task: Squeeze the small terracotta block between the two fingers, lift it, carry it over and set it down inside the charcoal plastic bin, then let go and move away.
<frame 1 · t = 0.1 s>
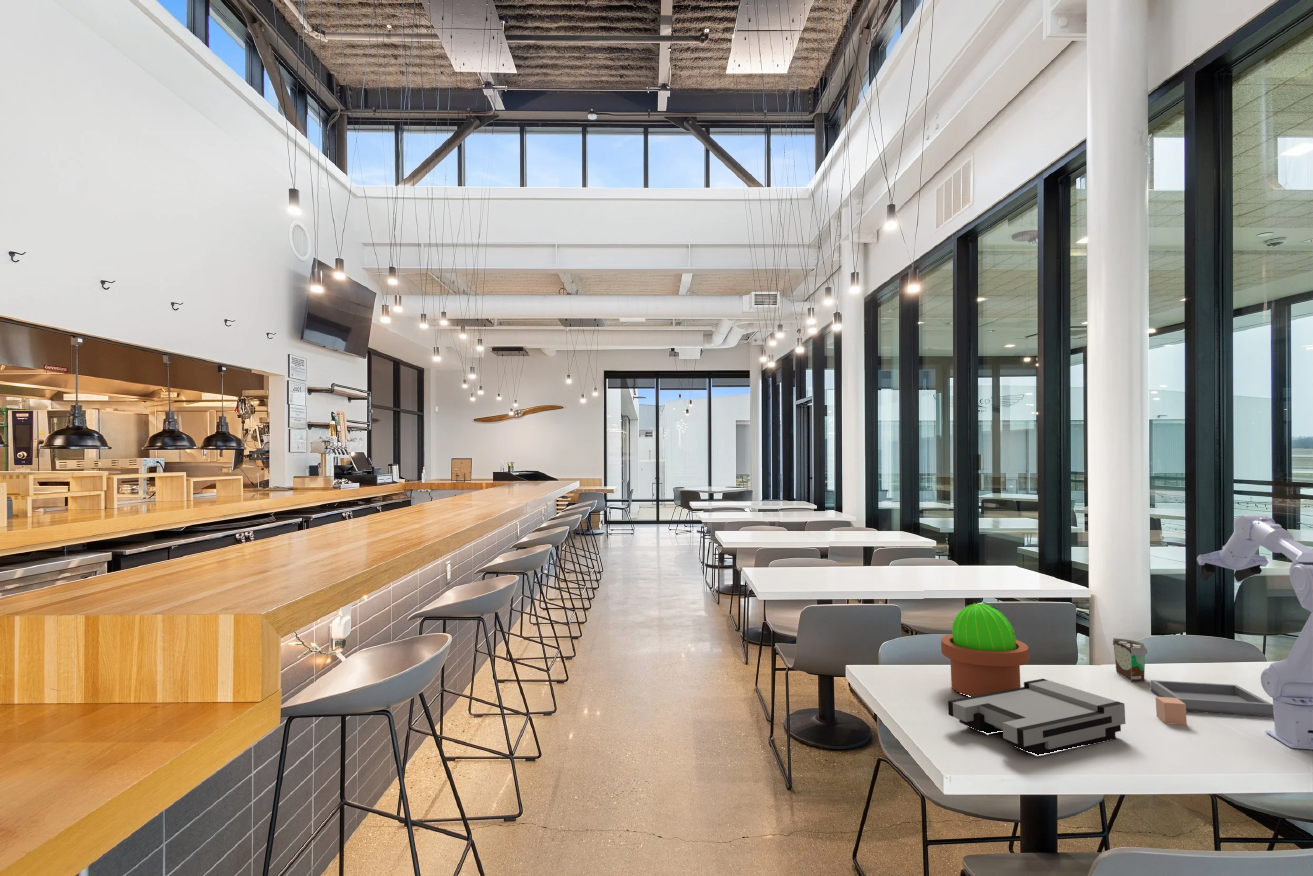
hand: (1219, 578, 180), 32 cm above the table, tool tilted 50°, fingers open, 7 cm apart
potted cactus: (985, 692, 188), on the table
food container: (1135, 678, 199), on the table
terracotta block: (1171, 721, 165), on the table
bin: (1208, 703, 176), on the table
gray blocky slab: (1035, 736, 158), on the table
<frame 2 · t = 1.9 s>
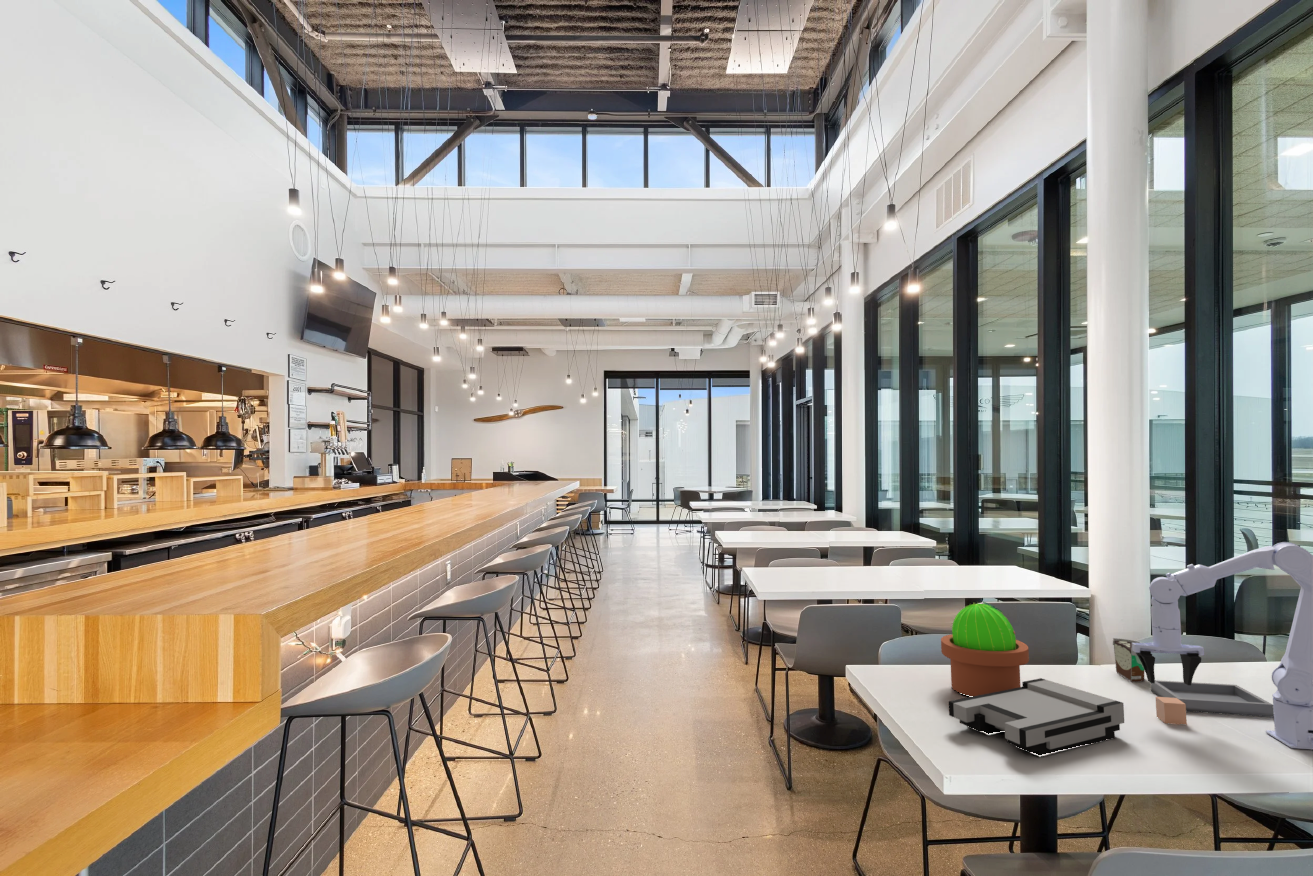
hand: (1169, 683, 165), 9 cm above the table, tool pointing down, fingers open, 7 cm apart
nothing on the table moved.
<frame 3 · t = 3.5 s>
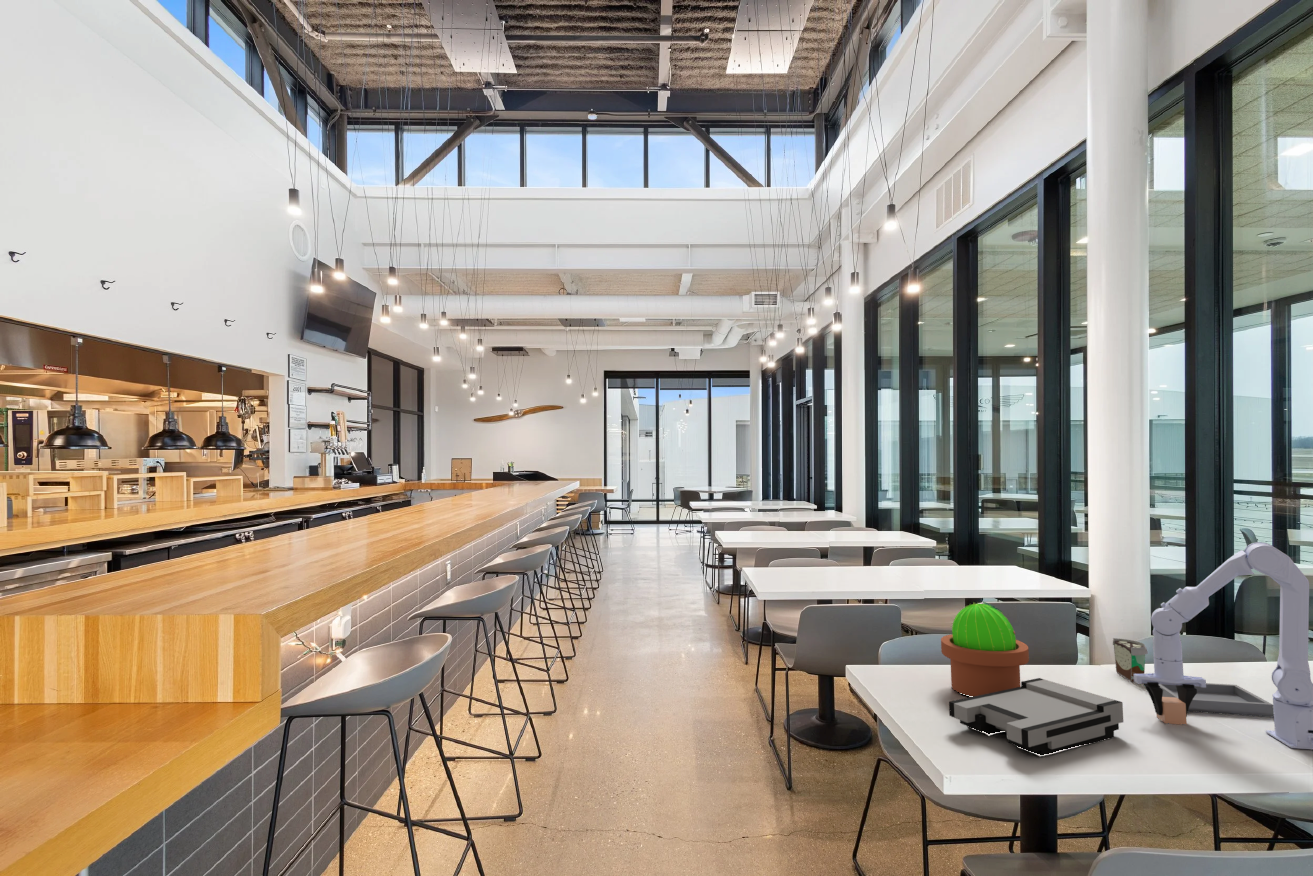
hand: (1171, 714, 165), 1 cm above the table, tool pointing down, fingers closed on terracotta block, 4 cm apart
terracotta block: (1171, 720, 165), on the table, touching gripper
everything else where it was.
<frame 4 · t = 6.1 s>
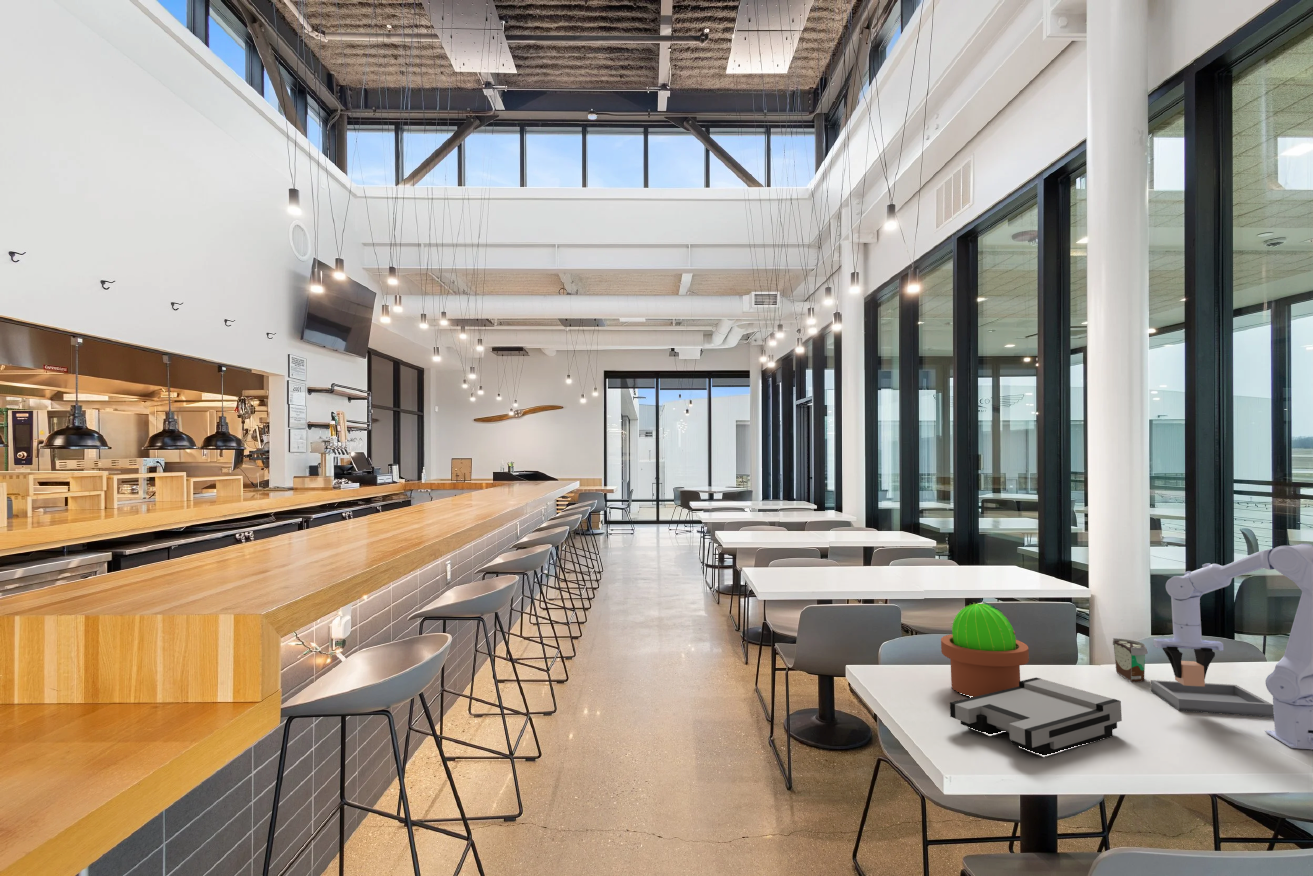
hand: (1189, 677, 171), 8 cm above the table, tool pointing down, fingers closed on terracotta block, 4 cm apart
terracotta block: (1189, 683, 171), point 7 cm above the table, touching gripper
everything else where it was.
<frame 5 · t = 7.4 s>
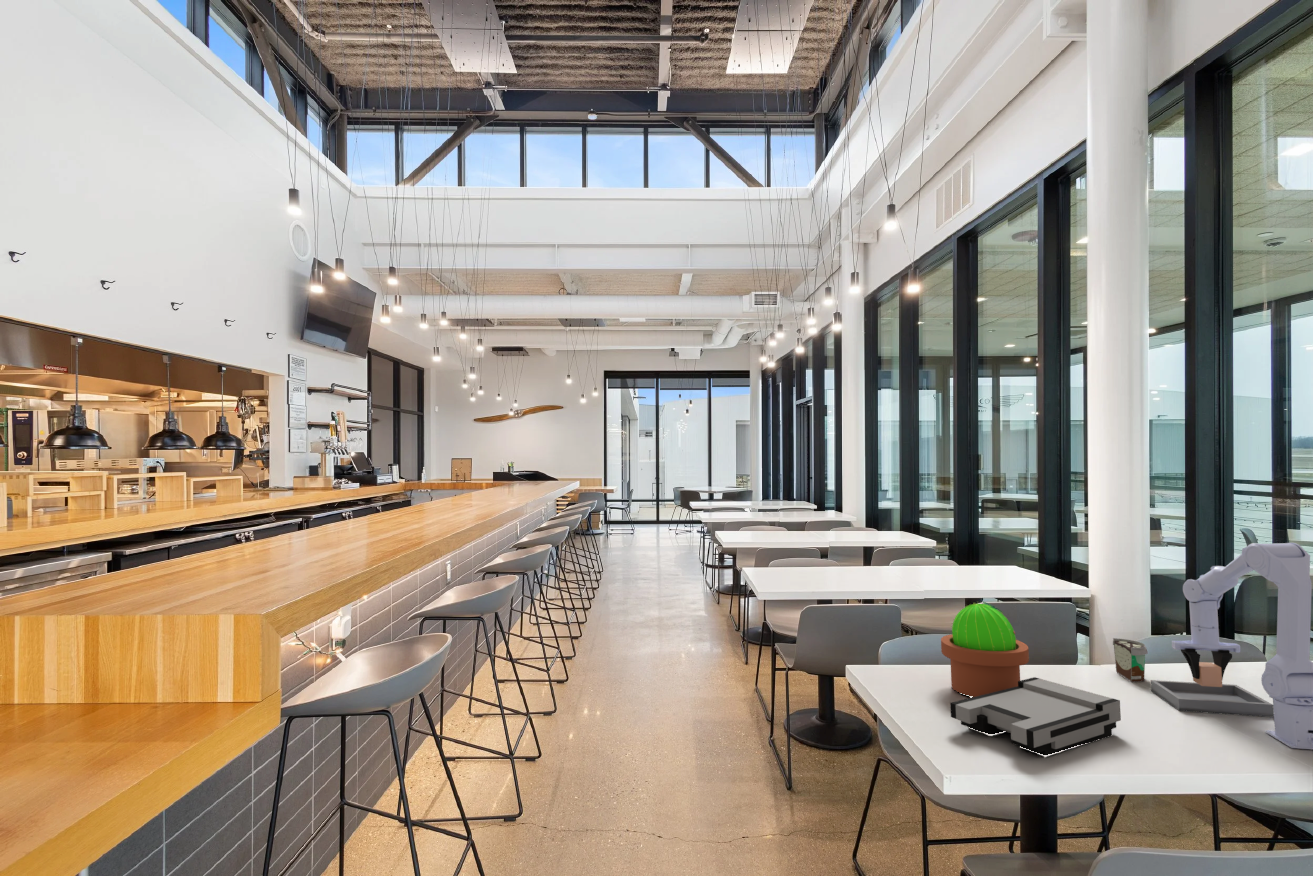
hand: (1207, 678, 177), 6 cm above the table, tool pointing down, fingers closed on terracotta block, 4 cm apart
terracotta block: (1207, 684, 177), point 5 cm above the table, touching gripper
when the fingers open (4 cm above the table, at t = 8.7 s): terracotta block drops 1 cm, resting on bin.
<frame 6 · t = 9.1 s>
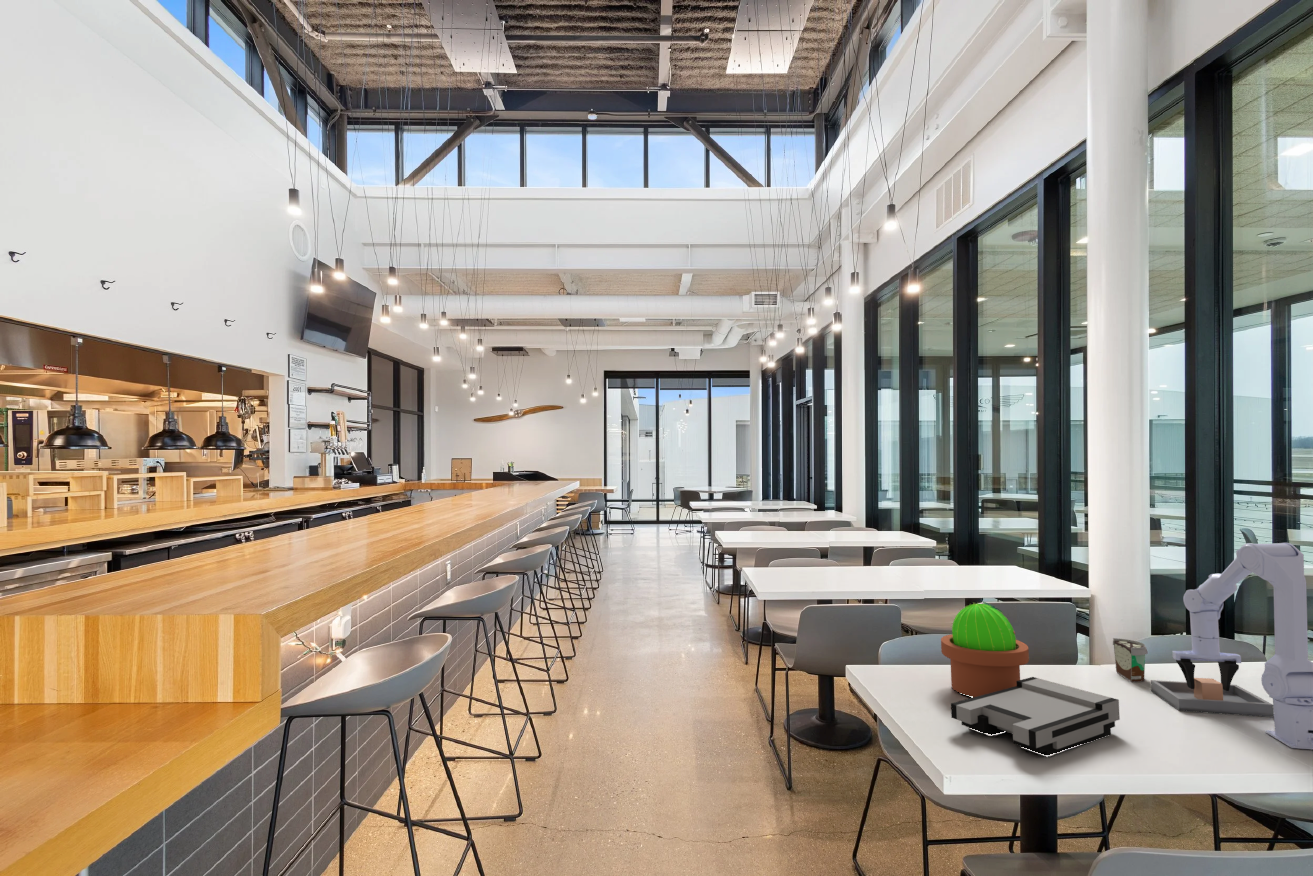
hand: (1208, 689, 177), 4 cm above the table, tool pointing down, fingers open, 7 cm apart
terracotta block: (1208, 700, 176), point 1 cm above the table, touching bin
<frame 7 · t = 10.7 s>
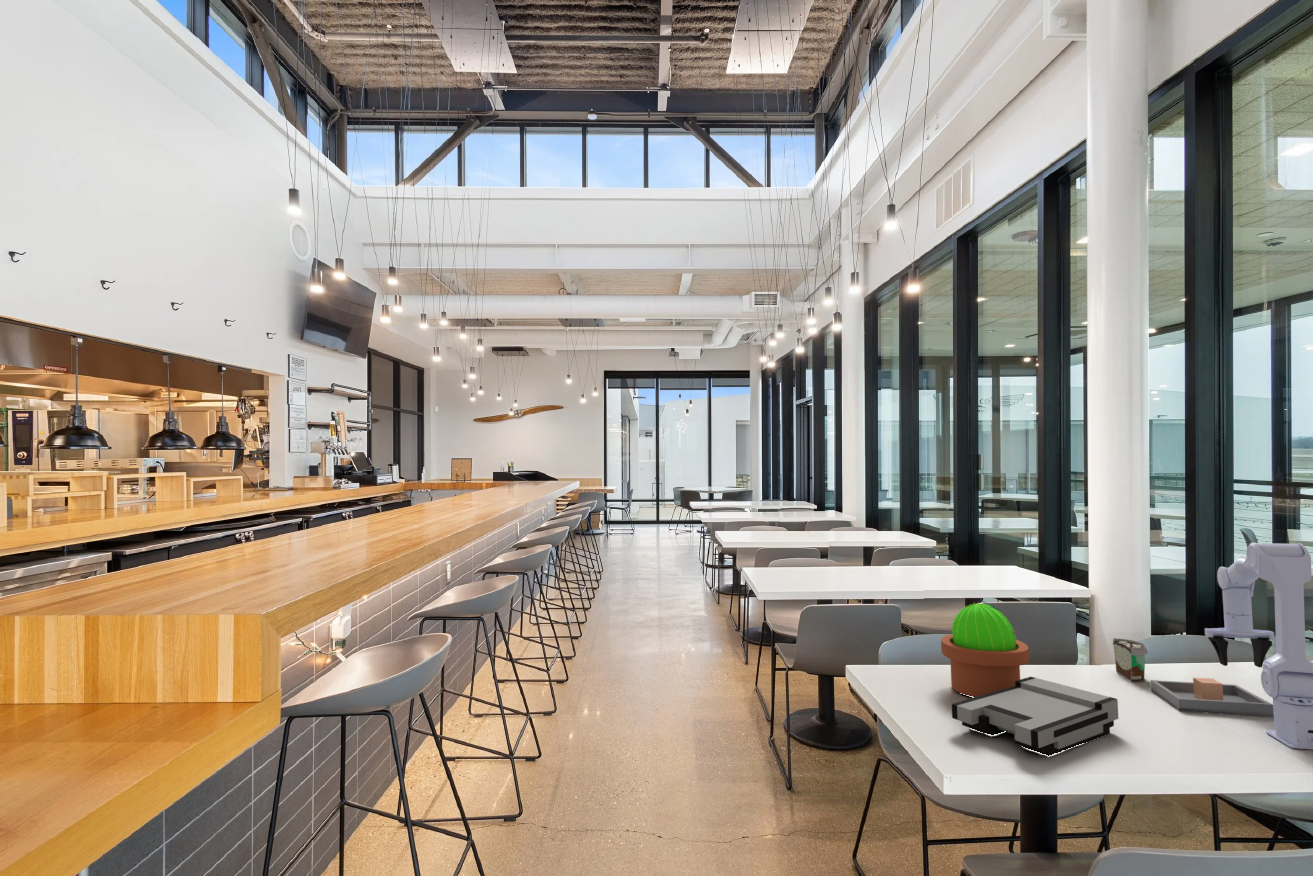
hand: (1240, 665, 177), 9 cm above the table, tool pointing down, fingers open, 7 cm apart
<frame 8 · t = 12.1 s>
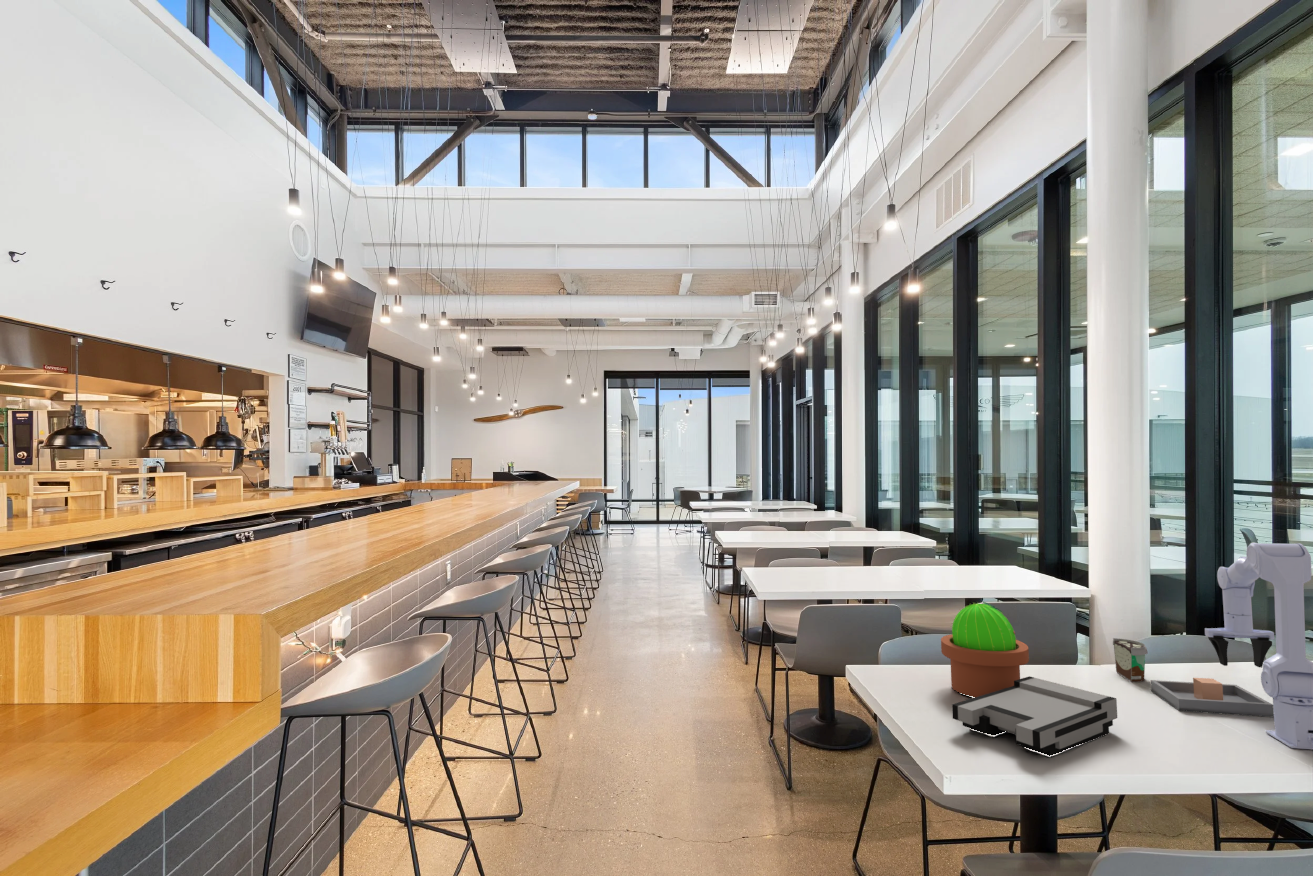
hand: (1241, 665, 177), 9 cm above the table, tool pointing down, fingers open, 7 cm apart
at the end: terracotta block inside the target area on the bin (0.1 cm from its centre), point 0.8 cm above the bin's base; terracotta block tilted 0°; the gripper is holding nothing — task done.
